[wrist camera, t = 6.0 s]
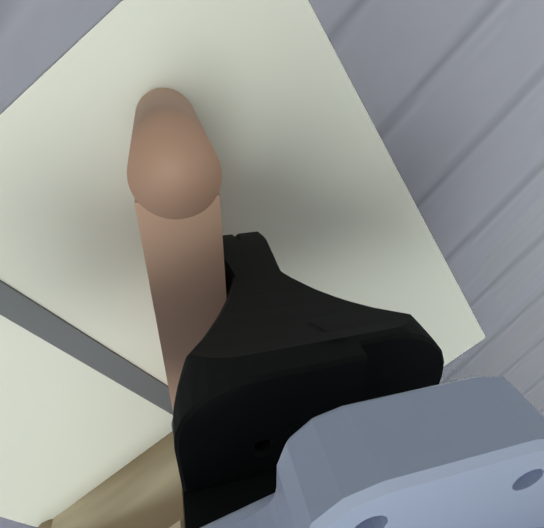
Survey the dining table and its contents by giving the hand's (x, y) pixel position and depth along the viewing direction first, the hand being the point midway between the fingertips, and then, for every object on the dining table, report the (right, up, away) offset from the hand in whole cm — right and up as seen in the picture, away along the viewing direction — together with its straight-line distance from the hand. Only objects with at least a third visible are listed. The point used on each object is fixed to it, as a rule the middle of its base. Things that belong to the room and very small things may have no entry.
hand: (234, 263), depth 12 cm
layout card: (-2, -4, +4) cm, 6 cm away
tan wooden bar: (-2, -1, +2) cm, 2 cm away
